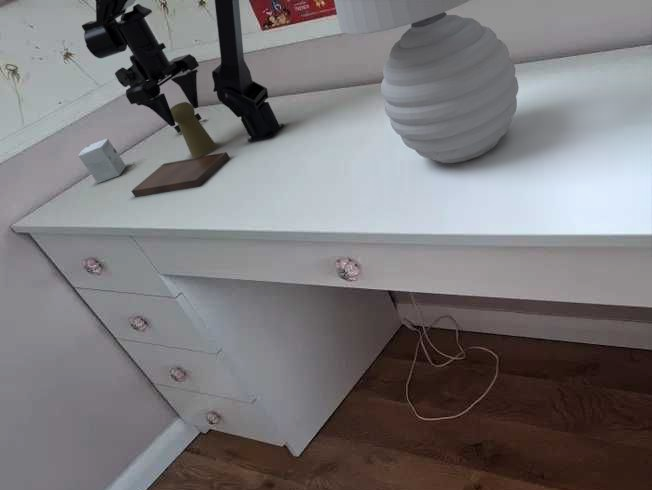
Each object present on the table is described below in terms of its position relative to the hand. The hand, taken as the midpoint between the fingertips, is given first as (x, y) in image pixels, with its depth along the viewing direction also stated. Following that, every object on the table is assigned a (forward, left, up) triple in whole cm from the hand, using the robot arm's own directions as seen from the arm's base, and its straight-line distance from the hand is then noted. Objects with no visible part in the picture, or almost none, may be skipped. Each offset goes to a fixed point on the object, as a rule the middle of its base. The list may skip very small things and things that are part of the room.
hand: (185, 116), depth 144 cm
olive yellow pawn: (0, 0, -8) cm, 8 cm away
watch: (+17, -18, -8) cm, 26 cm away
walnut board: (-3, +13, -8) cm, 16 cm away
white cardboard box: (+26, +4, -9) cm, 28 cm away
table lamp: (-71, +21, -8) cm, 74 cm away
